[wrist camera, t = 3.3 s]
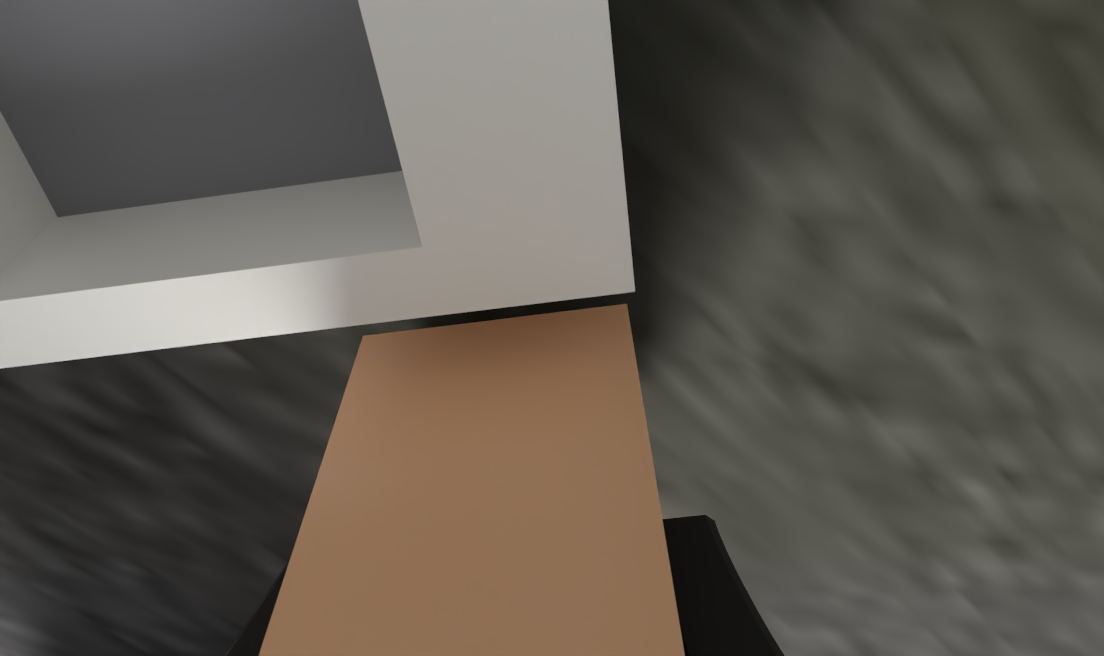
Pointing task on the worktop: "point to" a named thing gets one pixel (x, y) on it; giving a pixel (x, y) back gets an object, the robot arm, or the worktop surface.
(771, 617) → the worktop surface
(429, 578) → the plug
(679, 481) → the worktop surface
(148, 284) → the white compartment tray
